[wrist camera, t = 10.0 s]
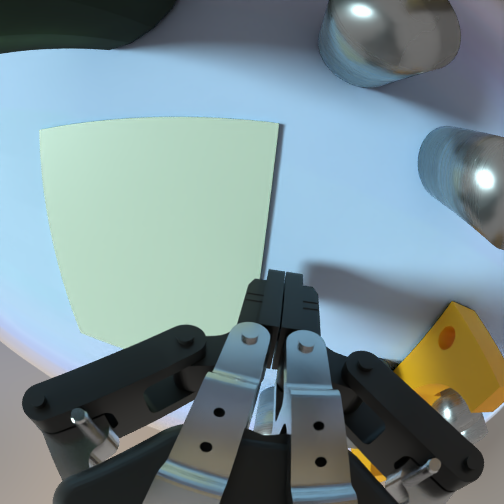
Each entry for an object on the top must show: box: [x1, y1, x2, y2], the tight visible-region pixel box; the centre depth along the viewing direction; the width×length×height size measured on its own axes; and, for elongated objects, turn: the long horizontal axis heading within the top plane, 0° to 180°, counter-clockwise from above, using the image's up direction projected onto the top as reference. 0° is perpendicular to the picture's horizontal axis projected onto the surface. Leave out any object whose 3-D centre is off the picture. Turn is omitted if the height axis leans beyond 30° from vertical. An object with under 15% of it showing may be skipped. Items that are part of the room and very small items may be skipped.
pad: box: [39, 117, 279, 349], centre depth 15 cm, size 16×14×1 cm
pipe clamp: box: [351, 301, 504, 482], centre depth 13 cm, size 12×4×6 cm, turn 161°
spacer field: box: [253, 0, 504, 449], centre depth 10 cm, size 26×21×5 cm
